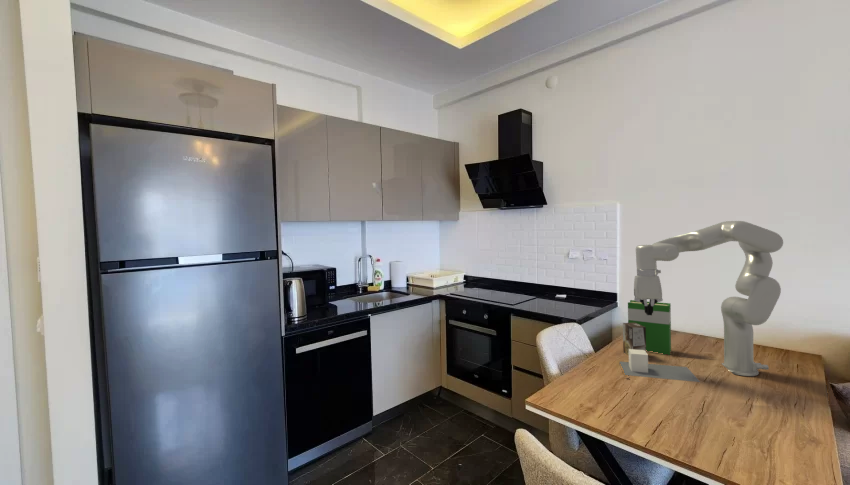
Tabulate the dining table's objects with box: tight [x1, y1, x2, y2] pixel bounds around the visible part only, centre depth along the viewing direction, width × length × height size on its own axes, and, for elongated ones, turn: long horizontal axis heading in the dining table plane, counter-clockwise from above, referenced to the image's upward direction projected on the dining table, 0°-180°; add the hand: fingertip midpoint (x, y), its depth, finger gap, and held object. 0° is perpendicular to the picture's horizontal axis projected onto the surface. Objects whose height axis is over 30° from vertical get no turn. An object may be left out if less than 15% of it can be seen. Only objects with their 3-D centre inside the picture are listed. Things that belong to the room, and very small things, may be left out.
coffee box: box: [622, 322, 646, 356], centre depth 173 cm, size 9×6×16 cm
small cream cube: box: [628, 349, 649, 373], centre depth 156 cm, size 6×6×8 cm
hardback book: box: [627, 299, 672, 356], centre depth 183 cm, size 18×7×24 cm, turn 51°
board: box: [619, 361, 701, 383], centre depth 154 cm, size 26×16×2 cm, turn 70°
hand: (649, 314), depth 159 cm, fingers closed
